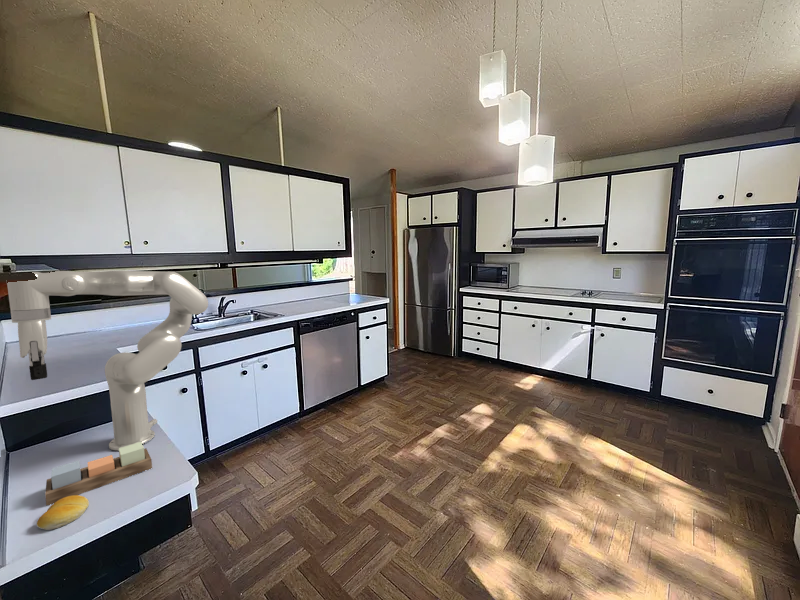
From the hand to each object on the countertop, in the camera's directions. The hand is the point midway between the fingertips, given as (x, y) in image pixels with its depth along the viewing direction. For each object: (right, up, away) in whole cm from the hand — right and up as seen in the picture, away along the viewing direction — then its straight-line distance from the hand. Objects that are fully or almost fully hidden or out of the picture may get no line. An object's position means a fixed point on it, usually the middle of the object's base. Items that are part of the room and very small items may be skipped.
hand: (39, 378), depth 96 cm
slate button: (+13, -27, -5) cm, 31 cm away
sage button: (+23, -26, +4) cm, 35 cm away
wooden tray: (+18, -29, 0) cm, 34 cm away
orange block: (+18, -28, 0) cm, 33 cm away
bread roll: (+22, -31, -15) cm, 41 cm away
